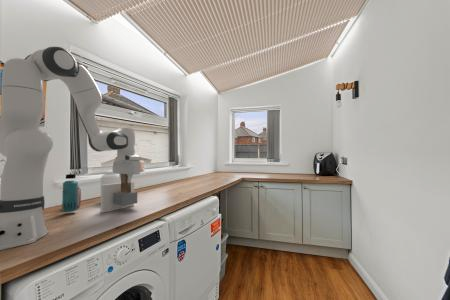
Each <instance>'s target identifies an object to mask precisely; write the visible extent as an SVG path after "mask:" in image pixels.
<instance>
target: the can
mask: <svg viewBox="0 0 450 300" xmlns="http://www.w3.org/2000/svg"><path fill="white" fill-rule="evenodd" d="M114 183H121V178H120V176H119V174H117V173H113V169H112V170H105V171H104V174H102V175H101V177H100V186H101V185H105V184H114Z"/></svg>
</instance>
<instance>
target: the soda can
mask: <svg viewBox="0 0 450 300" xmlns="http://www.w3.org/2000/svg"><path fill="white" fill-rule="evenodd" d="M77 196H78V197H77V207H78V208H77V209H79V208H80V207H81V201H82V199H81V198H82V189H81V187H80V185H78V192H77Z"/></svg>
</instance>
